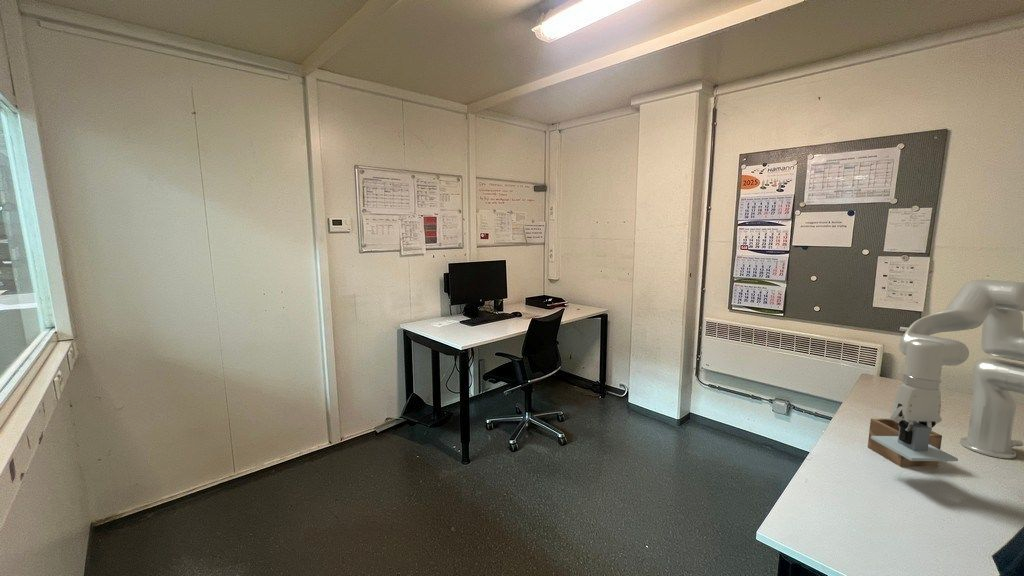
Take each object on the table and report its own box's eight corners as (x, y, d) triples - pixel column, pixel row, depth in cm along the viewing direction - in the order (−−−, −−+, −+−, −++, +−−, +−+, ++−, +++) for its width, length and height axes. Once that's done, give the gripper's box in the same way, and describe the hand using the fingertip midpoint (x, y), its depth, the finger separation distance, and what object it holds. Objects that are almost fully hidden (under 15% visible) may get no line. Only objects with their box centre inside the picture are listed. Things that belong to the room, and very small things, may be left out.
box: (902, 447, 141) (905, 418, 140) (937, 466, 129) (942, 435, 128) (867, 447, 141) (870, 418, 140) (899, 466, 129) (903, 435, 128)
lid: (912, 441, 127) (915, 414, 126) (957, 464, 114) (961, 434, 113) (870, 441, 127) (873, 414, 126) (910, 464, 114) (914, 434, 113)
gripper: (936, 378, 122) (928, 436, 124) (880, 377, 122) (873, 435, 124) (963, 387, 114) (955, 449, 116) (903, 386, 114) (896, 448, 116)
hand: (912, 441), depth 120 cm, fingers closed on lid, 4 cm apart
